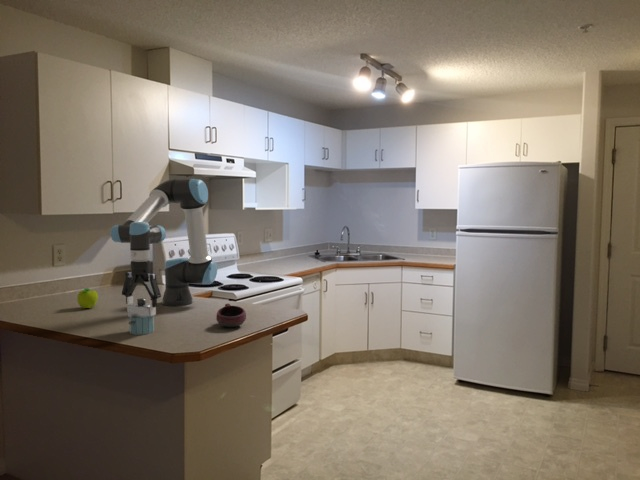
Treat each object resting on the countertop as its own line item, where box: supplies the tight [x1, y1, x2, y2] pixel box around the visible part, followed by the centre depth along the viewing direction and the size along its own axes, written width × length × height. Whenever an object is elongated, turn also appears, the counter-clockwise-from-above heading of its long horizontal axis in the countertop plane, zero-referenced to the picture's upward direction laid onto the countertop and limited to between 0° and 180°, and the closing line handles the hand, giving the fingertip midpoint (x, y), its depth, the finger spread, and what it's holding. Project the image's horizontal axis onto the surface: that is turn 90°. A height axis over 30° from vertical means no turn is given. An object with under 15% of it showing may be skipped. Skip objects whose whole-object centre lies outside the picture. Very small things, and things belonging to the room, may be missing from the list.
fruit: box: [76, 287, 99, 309], centre depth 261 cm, size 9×9×10 cm
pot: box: [128, 315, 155, 336], centre depth 218 cm, size 13×9×7 cm
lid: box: [126, 297, 155, 318], centre depth 217 cm, size 11×11×6 cm
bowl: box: [215, 303, 247, 328], centre depth 228 cm, size 16×13×8 cm
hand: (141, 313), depth 217 cm, fingers closed on lid, 11 cm apart
